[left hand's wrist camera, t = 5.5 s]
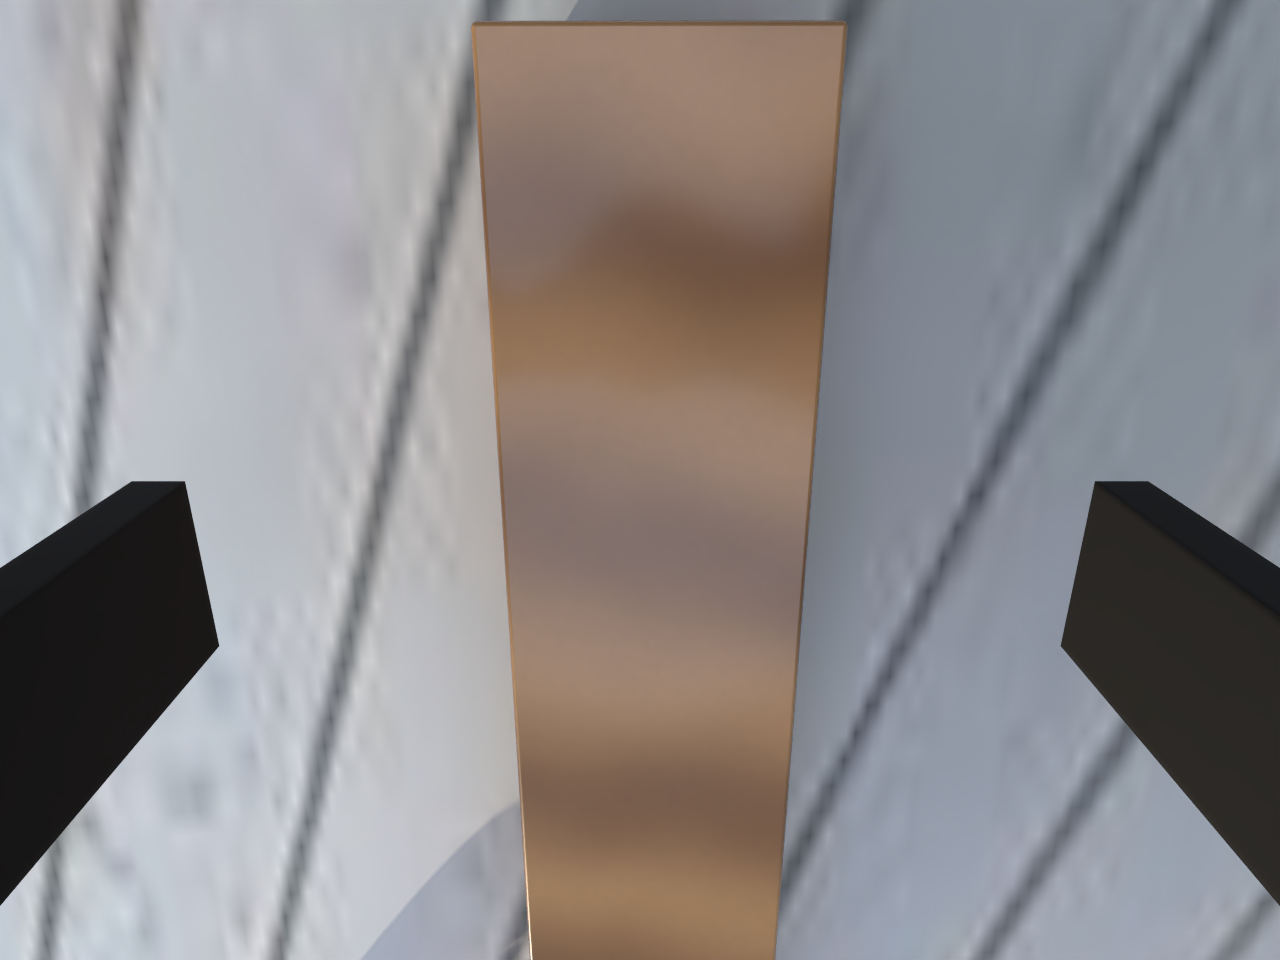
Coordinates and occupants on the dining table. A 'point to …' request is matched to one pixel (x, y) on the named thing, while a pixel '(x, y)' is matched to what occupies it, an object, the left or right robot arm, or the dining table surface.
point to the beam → (656, 457)
